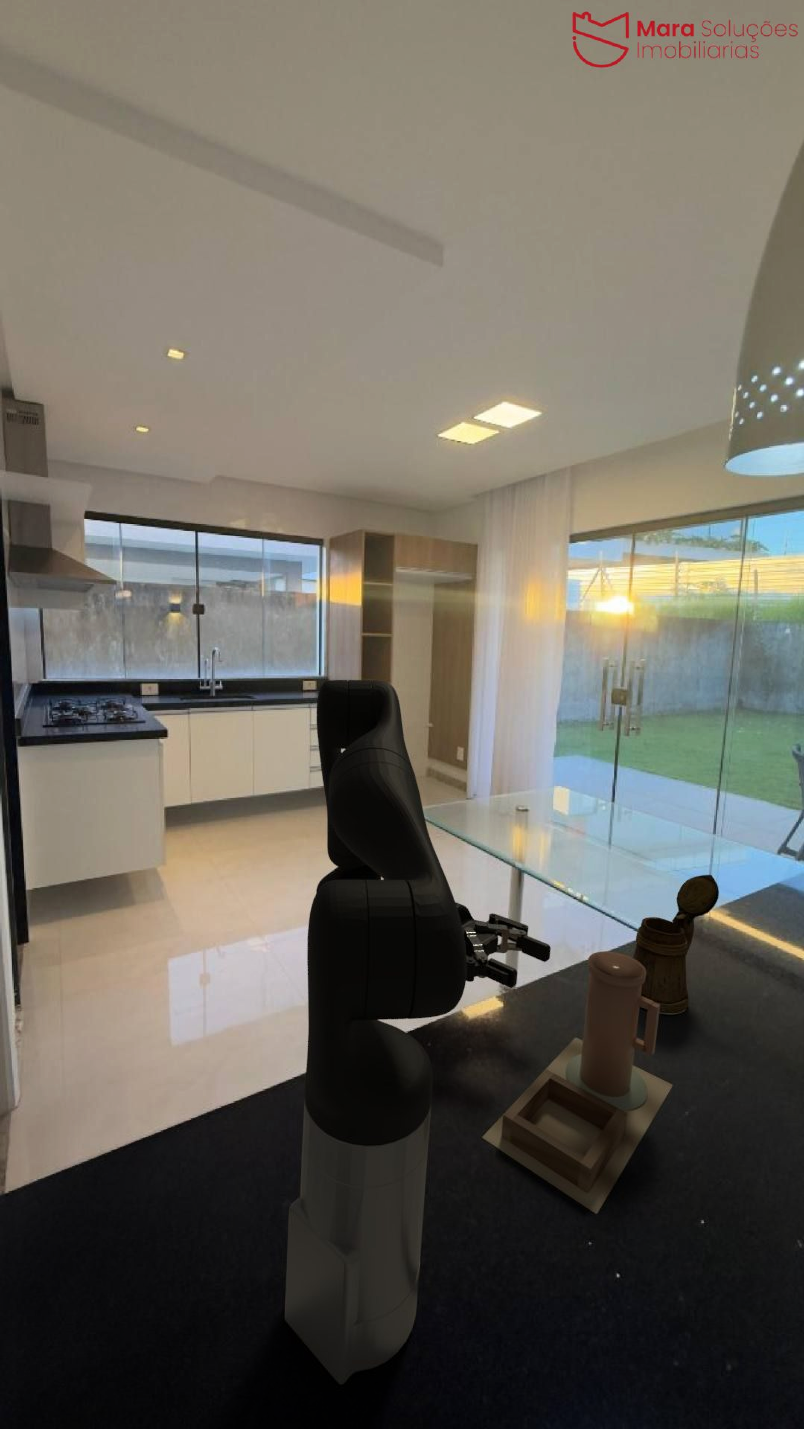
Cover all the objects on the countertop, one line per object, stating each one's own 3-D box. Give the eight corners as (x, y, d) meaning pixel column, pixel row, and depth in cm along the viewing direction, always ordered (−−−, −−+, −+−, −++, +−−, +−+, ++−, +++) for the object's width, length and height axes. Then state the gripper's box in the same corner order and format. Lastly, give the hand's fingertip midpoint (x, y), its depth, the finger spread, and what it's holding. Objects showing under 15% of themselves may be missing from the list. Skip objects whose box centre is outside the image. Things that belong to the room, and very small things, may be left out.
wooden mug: (724, 1002, 90) (739, 886, 88) (656, 1021, 84) (671, 897, 82) (674, 971, 98) (687, 864, 96) (610, 987, 92) (622, 873, 90)
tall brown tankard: (637, 1116, 65) (652, 994, 64) (567, 1079, 70) (579, 964, 69) (656, 1086, 70) (670, 972, 68) (590, 1053, 75) (601, 945, 73)
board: (595, 1223, 54) (599, 1188, 54) (481, 1146, 62) (483, 1114, 61) (672, 1092, 71) (675, 1065, 70) (574, 1044, 78) (577, 1019, 78)
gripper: (399, 911, 81) (506, 958, 70) (461, 882, 91) (561, 919, 81) (396, 964, 82) (500, 1019, 71) (457, 930, 92) (556, 972, 82)
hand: (533, 966), depth 76 cm, fingers open, 8 cm apart
